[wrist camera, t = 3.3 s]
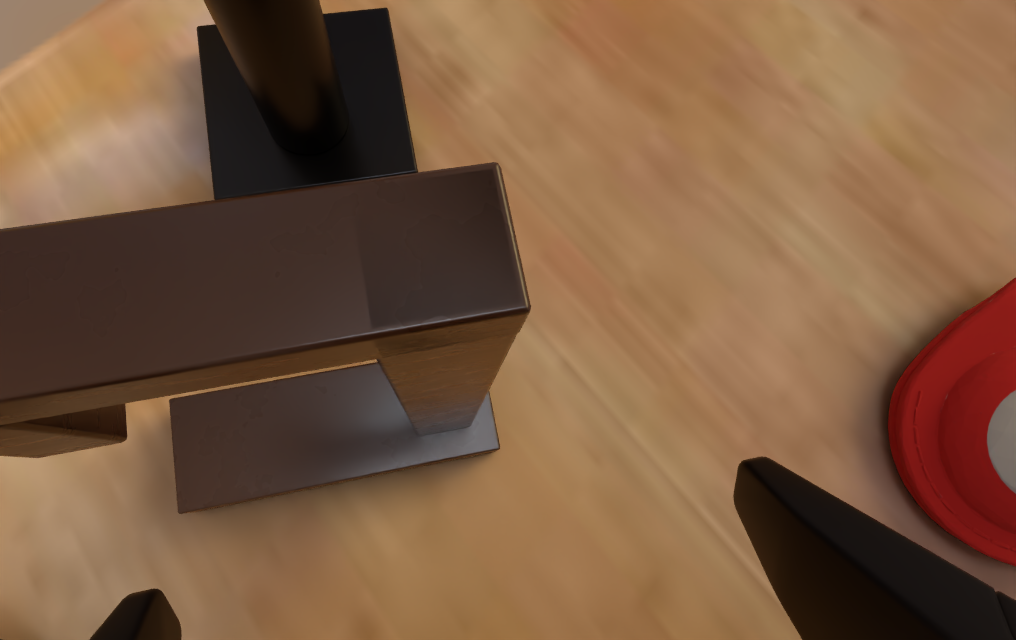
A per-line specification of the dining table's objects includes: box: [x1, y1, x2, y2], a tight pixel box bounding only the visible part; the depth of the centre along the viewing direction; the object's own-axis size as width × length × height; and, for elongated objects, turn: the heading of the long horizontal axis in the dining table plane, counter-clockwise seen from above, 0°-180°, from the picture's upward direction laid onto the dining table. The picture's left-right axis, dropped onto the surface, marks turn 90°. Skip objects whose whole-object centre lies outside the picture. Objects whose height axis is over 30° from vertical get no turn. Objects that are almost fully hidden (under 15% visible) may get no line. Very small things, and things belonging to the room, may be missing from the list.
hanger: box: [0, 162, 531, 514], centre depth 13 cm, size 3×9×14 cm, turn 101°
